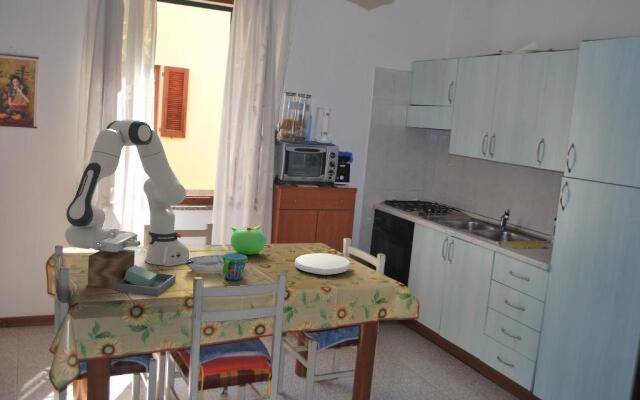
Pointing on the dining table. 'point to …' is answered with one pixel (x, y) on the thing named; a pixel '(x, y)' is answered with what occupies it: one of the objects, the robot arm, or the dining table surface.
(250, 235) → the green eared pot
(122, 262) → the chevron patterned wooden cube
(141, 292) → the box
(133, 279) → the teal rectangular block
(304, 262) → the plate
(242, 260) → the snack cup
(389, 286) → the dining table surface
